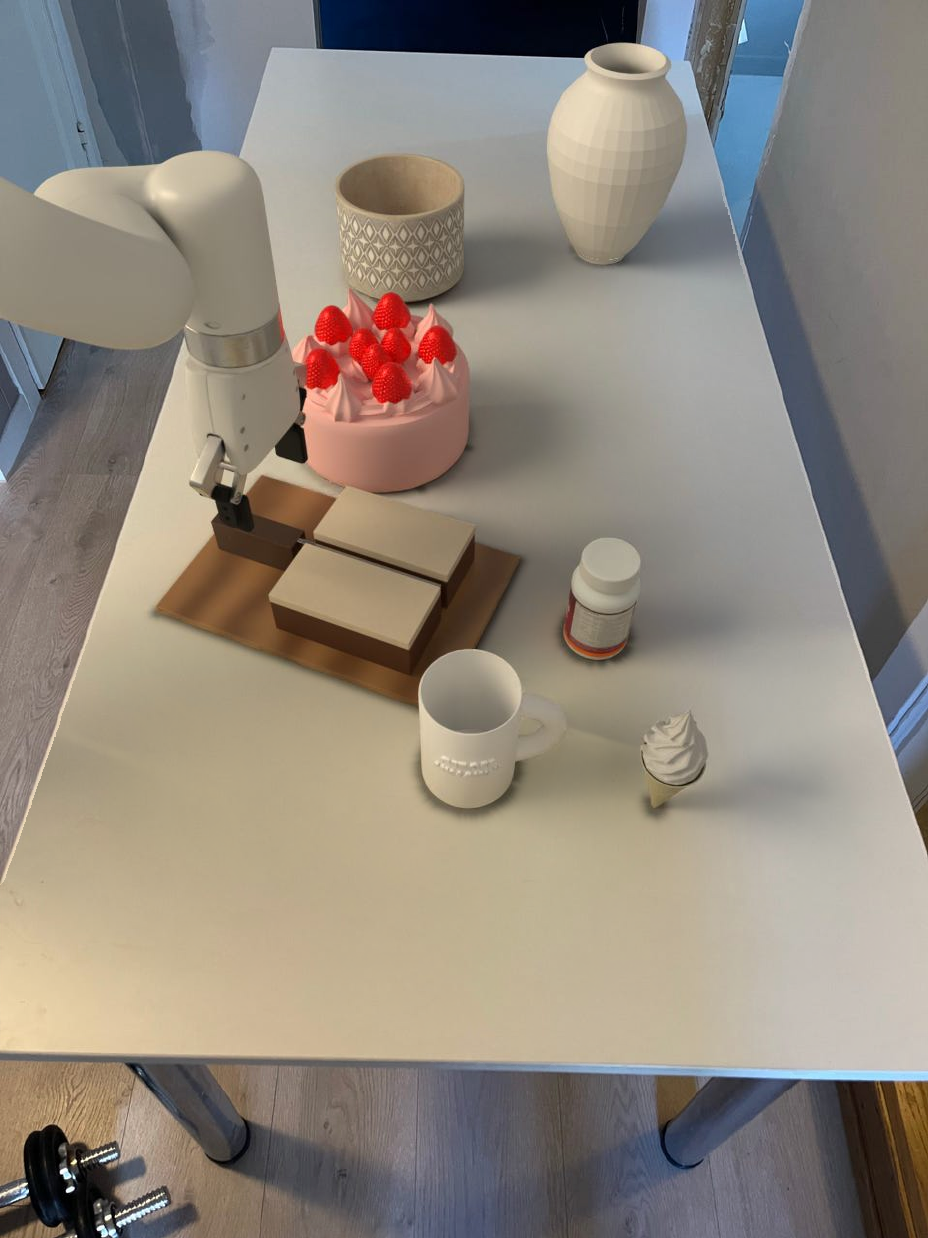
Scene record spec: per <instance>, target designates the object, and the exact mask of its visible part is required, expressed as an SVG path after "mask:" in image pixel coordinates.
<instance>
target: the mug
mask: <svg viewBox="0 0 928 1238" xmlns="http://www.w3.org/2000/svg"><path fill="white" fill-rule="evenodd" d="M418 697H419V708H418V716H419V717H418V718H419V738H420V739H419V740H420V761H421V763H420V764H421V773H422V777H423V780H424V782H425V783H424V784H425V785H426V786H427V788H428V789H429V791H430V792H431V793H432V794H433V796H435V797H436V798H437V799H439V800H440V801H442V802H443V803H445V804H446V805H447V804H448V805H450V806H452V807H456V808H460V809H461V808H462V809H477V808H481V807H485V806H487V805H490V804H492V803H493V802H495V801H496V800H498V799H500V798H501V797H502V796H503V795H504V794H505V793H506V791H507V790H508V789H509V788H510V786H511V783H512V781H513V779H514V775H515V768H516V762H521V761H526V760H528V759H532V758H535V757H537V756H541V755H542V754H544V753H547V752H548V751H550V750H551V749H553V748H554V747H555V746H556V745H557V744H559V742H560V741H561V740H562V738H564V736H565V733H566V730H567V717H566V715H565V713H564V711H563V709H562V708H561V706H559V704H557V703H556V702H554V701H553V700H552V699H549V698H547V697H544V696H542V695H539V694H535V693H529V692H524V688H523V684H522V680H521V679H520V676H519V675H518V673H517V672H516V670H515V669H514V667H512V665H511V664H510V663H509V662H507V661H506V660H505V659H503V658H502V657H501V656H498V655H497V654H495V653H492V652H490V651H487V650H481V649H478V648H477V649H476V648H475V649H464V650H457V651H454V652H451V653H448V654H446V655H444V656H442V657H440V658H439V659H437V660H436V661H435V662H433V663H432V664H431V665H430V667H429V668H428V669H427V670H426V671H425V673H424V675H423V676H422V678H421V681H420V685H419V692H418ZM522 718H523V719H524V718H525V719H531V720H534V721H535V720H536V721H538V722H541V723H542V725H541V726H540V727H538V728H537V729H536V730H534V731H532V732H530V733H527V734H524V735H521V736H519V735H520V729H521V728H520V727H521V726H520V725H521V719H522Z"/></svg>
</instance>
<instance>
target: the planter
mask: <svg viewBox="0 0 928 1238" xmlns="http://www.w3.org/2000/svg"><path fill="white" fill-rule="evenodd" d="M334 197H335V206H336V216H337V226H338V236H339V245H340V247H339V248H340V254H341V255H340V256H341V265H342V273H343V276H344V278H345V280H346V281H347V282H348V284H349V285H350V286H351V287H353V289H355V290H357V291H358V292H360V293H362V294H363V295H366V296H368V297H371V298H374V299H378V300H380V298H381V297H382V296H383V295H384V294H386V293H388V292H394V293H396V294H398V295H399V296H400V297H401V298H402V299H403V301H404V302H405V303H415V302H420V301H425V300H428V299H430V298H434V297H436V296H439V295H441V294H443V293H445V292H447V291H448V290H450V289H451V288H453V287H454V286H455V285H456V284H457V283H458V282H459V280H460V279H461V278H462V275H463V273H464V261H465V260H464V258H465V257H464V254H465V251H464V249H465V181H464V178H463V176H462V174H461V173H460V172H459V171H458V170H457V169H456V168H455V167H453V166H452V165H450V164H449V163H447V162H445V161H442V160H441V159H438V158H434V157H431V156H427V155H421V154H415V153H388V154H387V153H385V154H379V155H374V156H370V157H368V158H364V159H361V160H357V161H356V162H353V163H352V164H350V165H349V166H347V167H346V168H344V169H343V170H342V171H341V172H340V173H339V174H338V175H337V177H336V178H335V182H334Z"/></svg>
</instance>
